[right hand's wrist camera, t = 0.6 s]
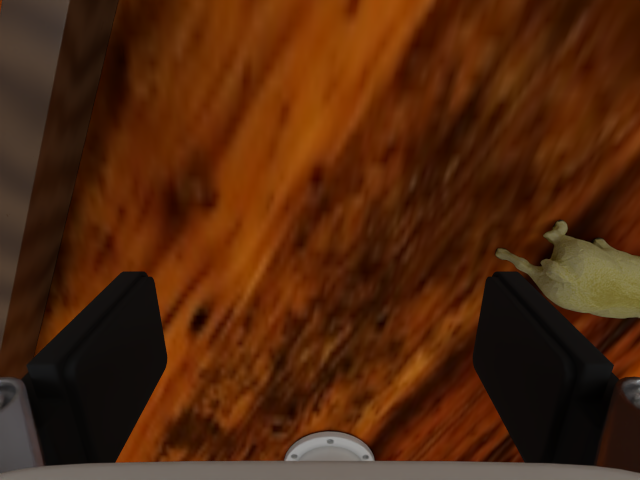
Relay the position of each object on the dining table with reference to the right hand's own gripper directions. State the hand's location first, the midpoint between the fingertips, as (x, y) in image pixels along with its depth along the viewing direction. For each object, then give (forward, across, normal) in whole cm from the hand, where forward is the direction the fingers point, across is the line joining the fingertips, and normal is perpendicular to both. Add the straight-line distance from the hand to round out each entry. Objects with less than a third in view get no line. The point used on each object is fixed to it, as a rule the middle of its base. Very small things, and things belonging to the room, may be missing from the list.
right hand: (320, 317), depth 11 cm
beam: (+30, -33, -17) cm, 48 cm away
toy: (+30, +28, -12) cm, 43 cm away
